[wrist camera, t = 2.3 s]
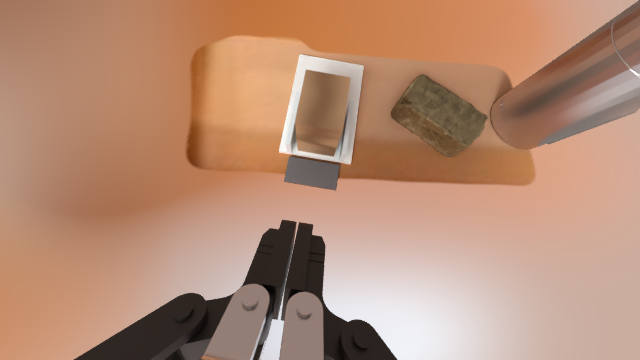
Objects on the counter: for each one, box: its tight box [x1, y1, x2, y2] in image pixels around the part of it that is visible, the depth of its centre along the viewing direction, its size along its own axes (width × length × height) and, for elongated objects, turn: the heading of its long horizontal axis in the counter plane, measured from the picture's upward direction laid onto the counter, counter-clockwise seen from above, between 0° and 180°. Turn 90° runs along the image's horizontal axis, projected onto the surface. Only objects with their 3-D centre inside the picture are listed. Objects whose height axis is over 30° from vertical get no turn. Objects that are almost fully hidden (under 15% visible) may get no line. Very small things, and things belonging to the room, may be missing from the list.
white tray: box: [279, 54, 364, 190], centre depth 31 cm, size 10×20×4 cm, turn 171°
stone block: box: [391, 75, 488, 157], centre depth 32 cm, size 6×12×5 cm, turn 53°
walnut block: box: [295, 70, 351, 157], centre depth 28 cm, size 5×6×8 cm
